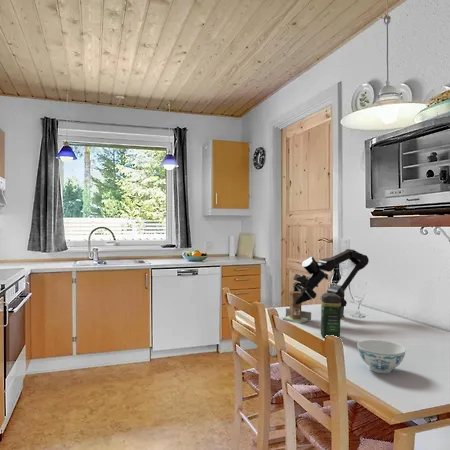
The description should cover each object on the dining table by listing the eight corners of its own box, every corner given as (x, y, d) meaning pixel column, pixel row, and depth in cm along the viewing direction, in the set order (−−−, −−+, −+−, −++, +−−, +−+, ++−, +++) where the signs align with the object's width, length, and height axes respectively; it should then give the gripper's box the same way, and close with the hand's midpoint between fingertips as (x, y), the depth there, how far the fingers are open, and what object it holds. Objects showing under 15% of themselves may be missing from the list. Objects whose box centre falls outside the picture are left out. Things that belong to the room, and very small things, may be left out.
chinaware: (348, 369, 134) (348, 345, 134) (369, 358, 144) (369, 337, 144) (393, 382, 123) (394, 357, 123) (412, 370, 134) (412, 347, 134)
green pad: (307, 320, 200) (307, 318, 200) (300, 323, 194) (300, 321, 194) (290, 317, 206) (290, 315, 206) (282, 319, 201) (282, 317, 201)
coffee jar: (342, 340, 167) (342, 295, 167) (322, 339, 168) (323, 294, 168) (337, 333, 177) (338, 291, 177) (319, 333, 178) (320, 291, 177)
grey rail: (311, 320, 201) (311, 312, 201) (310, 320, 200) (310, 312, 200) (287, 315, 210) (287, 308, 210) (285, 316, 209) (285, 308, 209)
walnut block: (297, 317, 203) (298, 291, 203) (301, 319, 198) (301, 292, 198) (289, 317, 202) (289, 291, 202) (292, 319, 198) (293, 293, 198)
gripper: (297, 266, 210) (276, 287, 208) (310, 270, 192) (288, 294, 190) (311, 281, 212) (290, 302, 210) (325, 287, 193) (303, 310, 191)
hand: (292, 302), depth 200 cm, fingers open, 9 cm apart
